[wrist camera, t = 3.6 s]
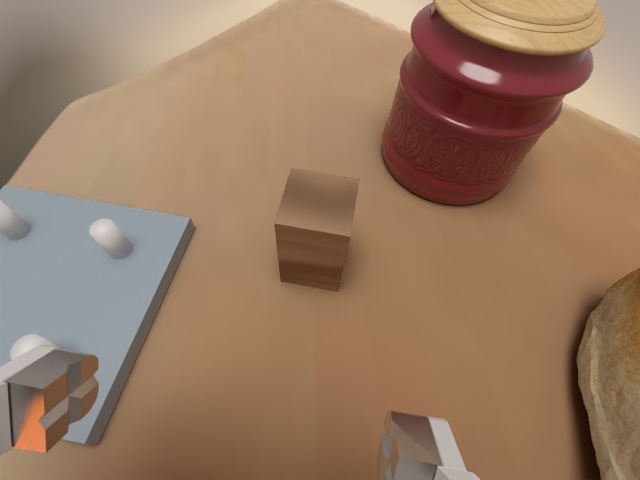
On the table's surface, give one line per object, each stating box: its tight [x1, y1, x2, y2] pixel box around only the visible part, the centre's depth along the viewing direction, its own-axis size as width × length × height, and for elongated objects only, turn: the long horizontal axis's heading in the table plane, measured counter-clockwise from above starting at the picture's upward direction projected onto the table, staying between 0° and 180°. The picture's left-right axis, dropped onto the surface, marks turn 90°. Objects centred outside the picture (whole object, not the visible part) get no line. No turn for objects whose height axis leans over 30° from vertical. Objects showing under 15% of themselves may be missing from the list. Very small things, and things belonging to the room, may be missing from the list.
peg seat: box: [0, 185, 195, 445], centre depth 23 cm, size 16×16×4 cm
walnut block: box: [275, 168, 359, 291], centre depth 25 cm, size 4×4×8 cm
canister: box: [383, 0, 606, 205], centre depth 28 cm, size 13×13×18 cm
